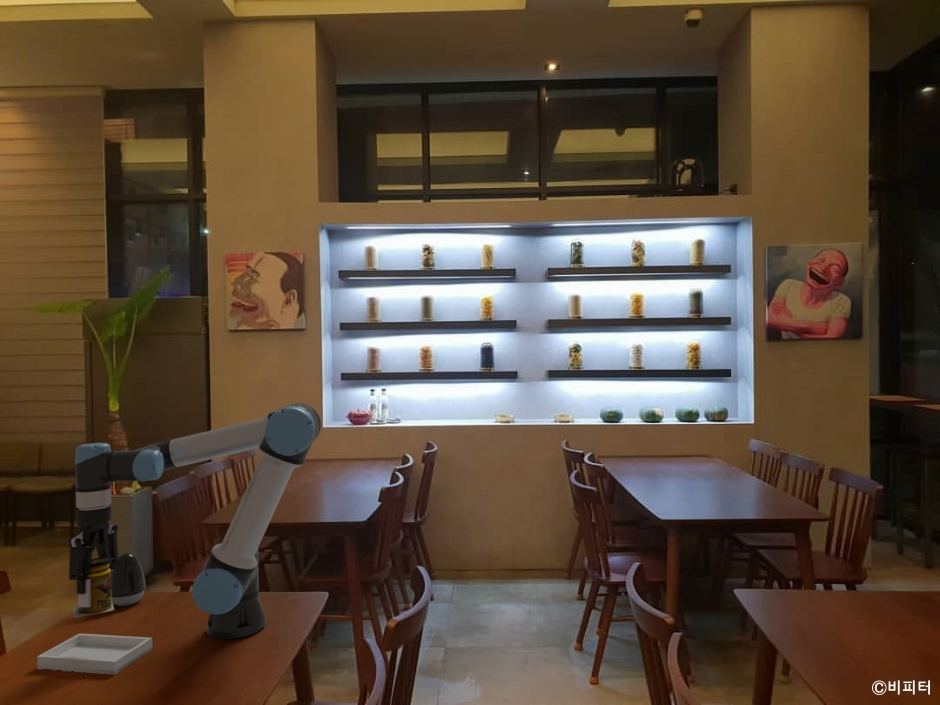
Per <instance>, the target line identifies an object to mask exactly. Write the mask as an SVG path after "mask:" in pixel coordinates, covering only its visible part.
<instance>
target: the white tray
mask: <svg viewBox="0 0 940 705" xmlns="http://www.w3.org/2000/svg"><path fill="white" fill-rule="evenodd" d="M152 651H153V637H148V636H147V637H145V636H127V635H126V636H125V635H112V634H111V635H109V634H94V633H93V634H92V633H78V634H76V635H74V636H72V637H71V638H69V639H66V640H65V641H63V642H62V643H59V644H58V645H56V646H54V647H52V648H50V649H48V650H47V651H45V652H43V653H41V654H39V655H37V656H36V658H37V659H36V662H37V666H36V667H37V670H43V669H50V670H49V671H57V670H62V671H61V672H71V671H74V672H75V673H84V672H85V674H86V673H88V674H102V675H114V676H115V675H117V674H118V673H120V672H122V671H123V670H125V669H126V668H128V667H129V666H131V665H132V664H133V663H135V662H137V661H138V660H139V659H140V658H143V657H144V656H146V654H148V653H150V652H152ZM52 669H53V670H52Z"/></svg>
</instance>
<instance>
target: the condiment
mask: <svg viewBox="0 0 940 705" xmlns="http://www.w3.org/2000/svg"><path fill="white" fill-rule="evenodd" d="M87 579H90V594H91V595H90V596H91V606H90V607H78V606H76V607H72V616H73V619H77V618H81V617H85V616H86V617H87V616H91V615H97V614H102V613H107V612H111V611H115V607H114V604H113V603H112V601H111V600H112V598H111V596H112V594H111V570H110V568H109V559H108V558H99V557H95V558H91V563H90V568H89V573H88V578H87Z"/></svg>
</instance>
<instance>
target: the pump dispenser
mask: <svg viewBox="0 0 940 705" xmlns="http://www.w3.org/2000/svg"><path fill="white" fill-rule="evenodd" d="M115 565H116V568H115V569H112V580H111V594H112V596H111V598H112V600H111V601H112V603H113V605H115V606H118V607H127V606H132V605H134V604H136V603H138V602H139V601H140V600H141V599H142V597H143V595H144V594H145V590H146V578H145V574H144V571H143V567H142V565H141V563H140V561H139V559H138V558H137V556H136V555H135V554H134V553H132V552H123V553H121V554H119V555H118V563H117V564H115Z"/></svg>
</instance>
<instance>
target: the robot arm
mask: <svg viewBox="0 0 940 705" xmlns="http://www.w3.org/2000/svg"><path fill="white" fill-rule="evenodd" d="M321 426H322V421H321V418H320V415H319V413H318V411H316V409H314V408H313V407H312V406H310V405H308V404H306V403H299V402H298V403H293V404H290V405H286V406H283V407H281V408H279V409H277V410H276V411H273V412H267V414H266V416H265V417H262V418H258V419H255V420H250V421H247V422H245V421H244V422H242V423H237V424H233V425H229V426H228V425H227V426H224V427H220V428H217V429H211V430H208V431H203V432H199V433H195V434H191V435H186V436H182V437H178V438H174V439H170V440H166V441H162V442H161V441H158V442H154V443H150V444H149V445H147V446H143V447H140V448H137V449H134V450H120V451H118V450H117V451H116V450H115V451H114V450H112V449H111V444H109V443H108V442H95V443H86V444H84V443H83V444H81V445H78V446H77V447H76V449H75V458H74V460H75V461H74V462H75V463H74V469H75V507H76V508H77V509H76V510H75V523H76V525H77V526H78V527H79V528H78V529H79V530H78V533H77V535H76V536H75V537H73V538H72V537H71V538H68V545H69V565H68V566H69V568H68V569H69V570H68V579H69V581H75V582H76V593H77V595H78V596H77V597H78V598H77V600H78V601H77V602H78V606H77V607H90V606H91V596H90V595H91V594H90V579H87V578H88V573H89V568H90V563H91V559H93V558H92V556H93V552H94V551H95V550H96V552H97V556H98V558H108V559H109V568H110V570H111V580H112V569H115V568H116V565H115V564H117V563H118V557H119V551H118V550H119V548H118V534H117V533H118V530H119V526H118V525H117V524H109V522H111V521H112V506H111V504H112V483H116V482H118V483H119V482H143V483H145V482H147V481H156V480H159V479H160V478H161V477H162V474H163V473H164V471H168V470H172V469H176V468H179V467H184V466H187V465H191V464H197V463H201V462H204V461H209V460H213V459H217V458H222V457H227V456H230V455H233V454H238V453H242V452H247V451H251V450H256V449H258V450H259V453H260V456H261V457H260V459H259V462H258V464H257V466H256V468H255V470H254V472H253V475H252V477H251V479H250V481H249V483H248V485H247V488H246V490H245V492H244V494H243V496H242V498H241V500H240V503H239V505H238V507H237V509H236V512H235V514H234V516H233V518H232V520H231V522H230V525H229V527H228V529H227V531H226V534H225V535H224V538H223V540H222V541H221V543H218V544H215V545H214V546H213V547H212V549H211V551H210V553H209V556H208V557H207V559H206V562H205V564H204V567H203V568H202V570H201V572H200V573H199V574H197V576H196V577H195V579H194V581H193V584H192V588H191V596H192V599H193V601H194V603H195V605H196V606H197V607H198V608H199V610H201V611H203V612H204V613H207V614H209V616H208V620H207V624H206V634H207V636H208V637H210V638H211V639H217V640H235V638H237V639H241V638H240V637H242V638H245V637H244V636H246V637H248V636H247V635H249V636H252V635H254V634H253V633H255V634H256V632H257V633H258V631H259V630H260V631H262V630H263V629H264V628H265V627H266V626H267V615H266V612H265V609H264V606H263V603H262V601H261V598H260V592H259V591H260V590H259V589H260V584H259V554H260V553H259V546H260V544H261V542H262V540H263V538H264V536H265V533H266V532H267V529H268V526H269V524H270V522H271V520H272V518H273V515H274V513H275V512H276V510H277V507H278V505H279V502H280V500H281V497H283V496H282V495H283V494H284V492H285V488H287V485H288V483H289V480H290V479H291V476H292V474H293V471H294V470H295V469H296V468H299V467H302V466H303V464H304V462H305V460H306V458H307V456H308V453H309V451H310V449H311V447H312V445H313V442H314V441H315V440H316V439H317V438H318V437H319V434H320V432H321ZM265 625H266V626H265ZM263 627H264V628H263ZM262 628H263V629H262ZM261 629H262V630H261ZM260 631H259V632H260ZM251 634H252V635H251Z"/></svg>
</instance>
